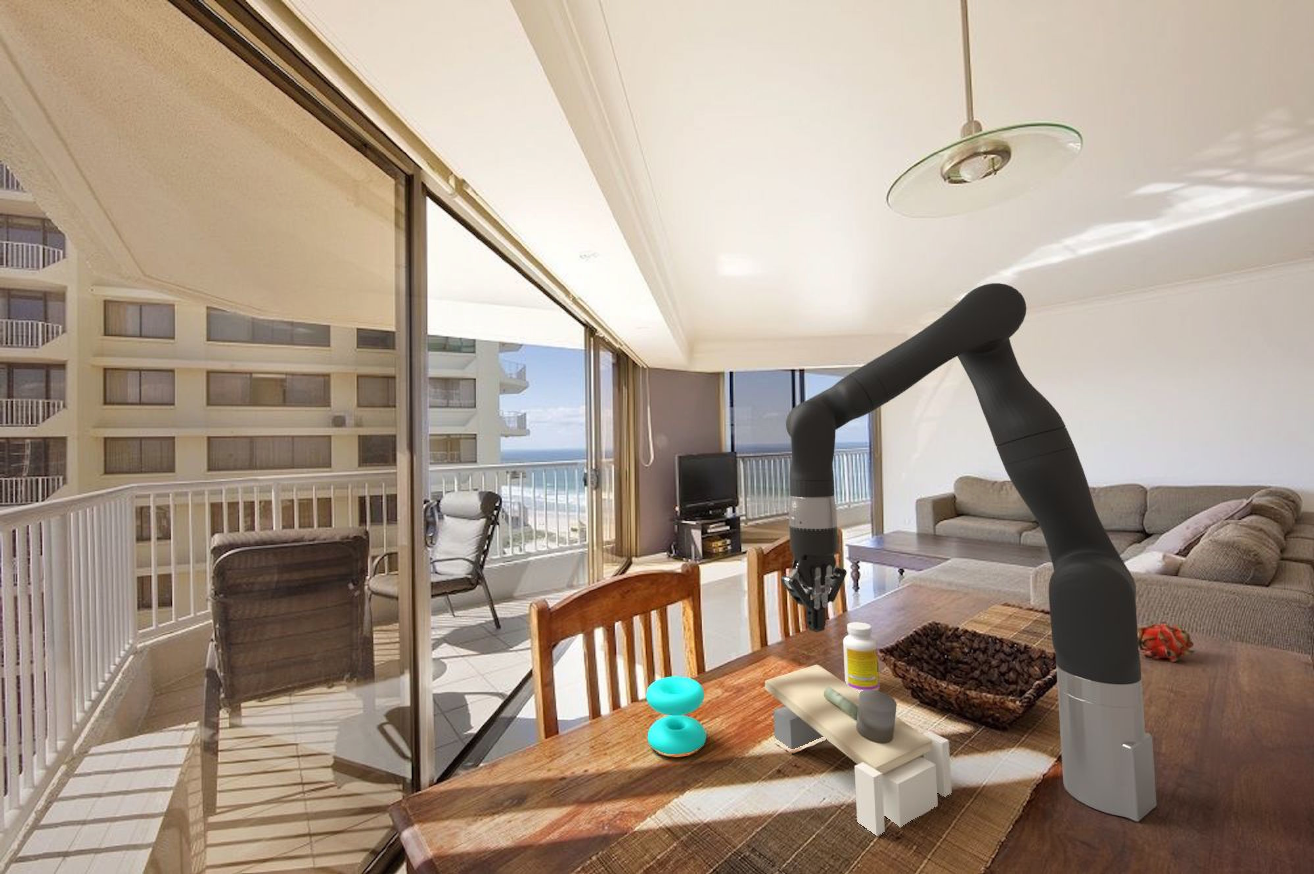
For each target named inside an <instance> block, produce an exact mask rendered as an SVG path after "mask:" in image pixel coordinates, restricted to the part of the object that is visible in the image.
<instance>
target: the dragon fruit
mask: <svg viewBox="0 0 1314 874" xmlns="http://www.w3.org/2000/svg"><path fill="white" fill-rule="evenodd" d="M1138 646H1139V650H1141V651H1144V652H1143V654H1144V655H1143V656H1144V657H1145V658H1151V659H1154V660H1157V659H1161V658H1167V659H1169V661H1170V662H1171V663H1175V662H1177V661H1179V660H1180V659H1181V656H1185V657H1187V656H1192V655H1193V654H1194V652H1195V651H1194V650H1191V648H1193V647H1194V642H1193V641H1192V638H1191V635H1190V633H1188V632H1187V631H1186V630H1184V629H1183V627H1182V626H1179V625H1175V626H1171V625H1169V624H1168V623H1167V622H1166V621H1161V624H1160V625H1159V624H1155V623H1152V622H1150V623H1149V624H1148V625H1147V626H1144V627H1141V628H1139V629H1138Z"/></svg>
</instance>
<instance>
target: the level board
mask: <svg viewBox="0 0 1314 874" xmlns="http://www.w3.org/2000/svg"><path fill="white" fill-rule="evenodd" d="M764 690H766V691H767V692H768V693H769V694H771V696H772V697H774V698H775V699H776V700H778V701H779V702H780V703H781V704H783V705H784V706H786V707H788V708H789V709H790V710H791V711H793V712H794V713H795V714H796V715H797V716H799V717H800V718H801V719H802V720H804V721H805V722H806V723H807V724H809V725H810V726H811V727H812V728H813V729H815V730H816V731H817V732H818V733H820V734H821V735H822V736H823V737H825V738H826V739H827V740H826V741H828V742H829V743H830V744H832V745H833V746H834V747H836V748H837V749H838V750H839V751H841V752H842V753H843V754H845V756H847V757H848V758H849V759H850V760H852V761H853V762H854V763H855V764H856V765H858V764H860V763H862V762H863V763H865V764H867V765H868V766H870V767H872V768H874V769H875V770H877V771H879V772H880V773H882V774H884V773H886V772H888V771H890V770H892V769H894V768H896V767H898V766H900V765H902V764H904V763H906V762H908V761H910V760H912V759H914V758H916V757H918V756H920V757H922V755H923V754H925V753H927V752H929V751H931V745H932V740H930V739H929V738H927V737H926V736H924V735H923V734H924V733H921V732H920V731H918V730H917V729H915V728H913V727H912V726H911V725H909V724H908V723H906V722H905V721H903V720H901V719H900V718H898V717H897V716H896V713H897V702H896V699H895V698H893V696H891V695H890V694H888V693H885V692H883V691H880V690H871V689H868V690H863V691H861V692H860V693H859V692H858V691H856V690H855V689H853V688H852V687H850V686H849V685H847V684H846V683H845V681H843V680H841V679H840V678H839V677H837V676H835V675H834V674H833V673H831V672H829V671H828V670H826V669H825V668H824V667H822V666H821V665H818V664H813V665H810V666H807V667H804V668H801V669H798V670H795V671H791V672H789V673H786V674H782V675H779V676H775V677H772V678H769V679H766V680H765V681H764Z"/></svg>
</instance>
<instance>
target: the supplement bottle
mask: <svg viewBox="0 0 1314 874" xmlns="http://www.w3.org/2000/svg"><path fill="white" fill-rule="evenodd" d="M846 626H847V627H846V628H847V629H846V630H847V634H848V635H846V636H845V637H844V638H843V640H842V641H843V643H842V644H843V645H842V646H843V664H844V667H843V668H844V683H845V682H846V684H847V685H849V686H850V687H852V688H855V689H858V690H868V689H871V690H873V689H876V688H878V687H879V688H880V673H879V672H880V671H879V657H878V656H879V654H878V653H879V652H878V643H877V641H876V639H875V638H873V637H872V636H871V635H872V626H871V625H870V624H868V623H865V622H857V621H853V622H849V623H847V624H846Z"/></svg>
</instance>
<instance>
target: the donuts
mask: <svg viewBox="0 0 1314 874" xmlns="http://www.w3.org/2000/svg"><path fill="white" fill-rule="evenodd" d="M645 696H646V701H647V702H646V703H648V705H649V706H650V708H652V710H654V711H656V712H657V713H660V714H661V715H662V714H663V715H667V716H664V717H663V716H662V717H661V718H659V719H657V720H655V721H654V722H653V723H652V725H651V726H650V728H649V730H648V734H647V741H648V745H649V744H650V745H651V746H652V748H654V749H656V750H658V751H660V752H663V753H666V754H682V753H689V752H692V751H695V750H696V749H699V748H700V747H701V746H703V747H704V745H705V744H704V743H706V741H707V740H706V739H707V733H706V729H705V727H704V726H703V725H702V723H700V722H699V721H698V720H697V719H695V718H694V717H691V716H688V715H687V714H690V713H692V712H695V711H696V710H697V709H698V708H700V707H701V705H702V704H703V702H704V699H705V691H704V688H703V686H702V685H701V684H700V683H699V682H698V681H697V680H695V679H693V678H689V677H684V676H667V677H663V678H659V679H657V680H655V681H654V682H652V683H651V684H650V685H649V686H648V688H647V690H646V695H645ZM703 744H704V745H703ZM650 745H649V746H650ZM651 746H650V747H651ZM652 748H651V749H652Z"/></svg>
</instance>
